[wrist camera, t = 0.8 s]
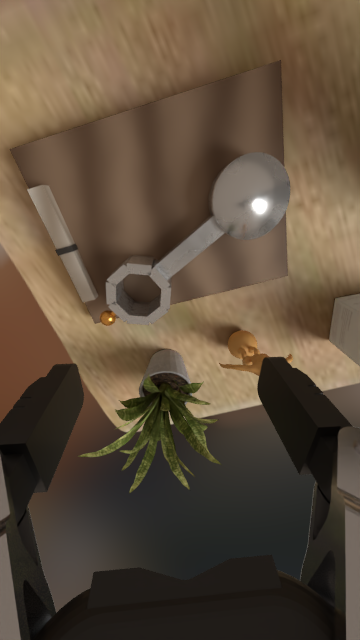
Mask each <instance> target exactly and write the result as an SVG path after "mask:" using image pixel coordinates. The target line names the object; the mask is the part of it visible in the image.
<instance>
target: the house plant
mask: <svg viewBox="0 0 360 640" xmlns="http://www.w3.org/2000/svg"><path fill="white" fill-rule="evenodd" d="M202 384H203V382H202V383H191V382H190V379H189V376H188V373H187V370H186V367H185V364H184V361H183V358H182V357H181V355H180V354H179V353H178V352H176V351H174V350H170V349H164V350H161V351H158V352H156V353H155V354H154V355H153V356H152V357H151V360H150V362H149V365H148V367H147V370H146V372H145V374H144V377H143V379H142V382H141V384H140V387H139V394H140V398H134V399H129V400H126V401H120V402H121V403H122V404H123V405H124V406H125V407H127V409H121V410H115V411H116V412H117V414H118V416H119V417H120V418H121V419H122V420H125V421H130V420H131V421H130V422H132V421H133V420H135V419H137V418H138V417H140V416H141V415H143V414H144V413H145V412H146V413H145V414H144V415H143V416H142V418H141V419H140V420H139V421H138V423H137V424H136V425H135V426H134V427H133V428H132V429H131V430H130V431H129V432H128V433H126V434H125V435H124V436H123V437H121V438H119V439H118V440H116V441H115V442H114V443H112V444H110V445H109V446H107V447H105V448H103V449H102V450H99V451H97V452H93V453H87V454H84V455H81V456H80V457H96V456H103V455H106V454H109V453H111V452H113V451H115V450H117V449H118V448H120V447H121V446H123V445H124V444H125V443H127V442H128V441H129V440H130V439H131V438H132V437H133V435H134V434H135V433H136V431H137V430H138V429H139V428H140V427H141V426H142V424H143V423H144V422H145V424H144V426H143V429H142V432H141V434H140V437H139V439H138V441H137V443H136V445H135V447H134V449H133V450H130V451H129V450H123V451H121V452H124V453H131V454H130V456H129V458H128V460H127V462H126V464H125V466H124V467H123V469H122V470H124V469H125V468H127V467H128V466H129V465H130V464H131V462H132V461H133V460H134V458H135V457H136V455H137V453H138V451H139V450H140V449H142V448H143V447H144V446H145V444H146V443H147V442H148V440H149V439H150V442H149V444H148V447H147V450H146V453H145V455H144V458H143V460H142V463H141V465H140V467H139V469H138V471H137V474H136V478H135V481H134V483H133V485H132V487H131V488H130V493H131V492H132V491H133V490H134V489H135V488H136V487H137V486H138V485H139V484H140V483H141V481H142V480H143V478H144V476H145V475H146V473H147V471H148V469H149V467H150V464H151V462H152V460H153V457H154V455H155V451H156V445H157V441H159V440H161V442H162V449H163V453H164V456H165V458H166V460H167V461H168V462H169V465H170V467H171V470H172V471H173V473H174V474H175V475H176V476H177V477H178V478H179V480H180V481H181V482H182V484H183V485H184V486H185V487H187V488H188V489H190V488H189V486H188V483H187V481H186V479H185V477H184V475H183V473H182V471H181V469H180V466H179V464H178V462H179V463H180V464H181V465H182V466H183V467H184V468H185V469H186V470H187V471H188V472H189V473H191V472H190V471H189V470H188V469H187V467H186V466H185V465H183V463H182V462H181V461H180V459H179V458H178V456H177V454H176V450H175V444H174V440H173V435H172V430H171V425H170V420H169V413H168V411H169V412H170V415H171V418H172V420H173V422H174V424H175V426H176V427H177V429H178V430H179V431H180V432H181V433H182V434H184V436H185V437H186V439H187V441H188V442H189V443H190V445H191V446H192V447H193V448H194V450H196V451H197V452H198V453H200V454H201V455H203V456H205V457H206V458H207V459H208V460H210V461H212V462H214V463H218V464H220V463H219V462H218V461H217V460H216V459H215V458H214V457H213V456H212V455H211V454H210V453H209V451H208V449H207V446H206V439H205V435H204V433H203V431H204V430H205V429H207V426H206V425H203V424H201V423H214V422H216V421H217V420H205V419H199V418H196V417H194V416H193V415H192V414H191V412H190V411H189V410H188V409H187V408H186V406H185V404H186V403H187V402H191V403H195V404H201V405H209V403H207V402H204V401H200V400H198V399H197V398H195V397H193V396H192V393H195V392H196V391H198V389H199V388H200V387H201V385H202ZM148 406H149V407H148ZM182 414H183V415H182ZM183 416H184V417H185V418H186V420H187V421H186V420H185V418H184V417H183ZM134 418H135V419H134ZM132 419H133V420H132ZM197 421H198V422H197ZM130 422H128V423H127V424H129V423H130ZM187 422H188V423H189V425H190V426H189V425H188V423H187ZM199 422H201V423H199ZM127 424H125V425H127ZM125 425H122V426H125ZM122 426H120V427H122ZM120 427H118V428H120ZM194 434H195V435H196V436H195V435H194ZM191 474H192V473H191ZM192 475H193V474H192Z"/></svg>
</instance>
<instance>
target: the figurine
mask: <svg viewBox="0 0 360 640" xmlns="http://www.w3.org/2000/svg"><path fill="white" fill-rule="evenodd" d="M228 349H229V351H230V353H231V354H232V355H233V356H235V357H237V358H240V359H243V360H242V362H243V365H232V364H226V365H223V364H220V363H219V364H220V366H221V367H223V368H227V369H230V368H231V369H236V370H241V371H249V372H252V373H254V374H256V375H258V376H260V371H261V366H262V361H263V359H264V358H265V357H269V356H267V355H266V354H260V352H259V350H258V349H257V341H256V339H255V337H254V336H253V335H252V334H251V333H250V332H248V331H243V330H242V331H237V332H235V333H233V334H232V335H231V336H230V338H229V340H228ZM253 354H255V355H253ZM252 355H253V356H252ZM288 356H289V357H287V358H286V360H287V362H288V363H290V362H292V361H293V357H292V355H291V354H289V355H288ZM251 364H252V365H251Z"/></svg>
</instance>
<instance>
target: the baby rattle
mask: <svg viewBox="0 0 360 640" xmlns="http://www.w3.org/2000/svg"><path fill="white" fill-rule="evenodd" d="M289 198H290V182H289V177H288V174H287V172H286V170H285V168H284V166H283V165H282V164H281V163H280V161H278V160H277V159H276V158H275V157H273V156H271V155H269V154H266V153H262V152H254V153H248V154H245V155H243V156H240V157H239V158H237V159H235V160H234V161H232V162H231V163H230V164H228V165H227V166H226V167H224V168H223V169H222V170H221V171H220V172H219V174H218V175H217V176H216V178H215V180H214V181H213V183H212V186H211V189H210V192H209V199H208V206H209V212H210V216H209V217H208V218H207V219H206V220H205V221H204V222H203V223H201V224H200V225H199V226H198V227H197V228H196V229H194V230H193V231H192V232H191V233H190V234H189V235H187V236H186V237H185V238H184V239H183V240H182V241H181V242H179V243H178V244H177V245H176V246H175V247H174V248H172V249H171V250H170V251H169V252H168V253H167V254H165V255H164V256H163V257H162V258H161V259H160V260H158V259H156V260H154V257H148V256H137V255H133V256H132V257H131V256H130V257H129V258H128V259H126V260H125V261H124V262H123V263H122V264H121V265H120V266H119V267H118V268H117V269H115V271H114V272H113V273H112V274H111V275H110V276H109V278H108V279H107V281H106V300H107V304H109V306H108V307H109V308H110V309H111V310H112V311H110V310H106V311H103V312H102V313H101V315H100V321H101V323H102V324H104V325H106V326H109V325H112V324H113V323H114V322H115V320H116V316H115V315H117V316H118V317H119V318H120V319H122V320H123V321H124V322H125V321H127V323H129V324H143V325H149V322H150V323H151V324H153V323H154V322H155V321H156V320H158V319H159V318H160V317H162V316H163V315H164V314H166V313H167V312H168V309H170V297H171V277H172V276H173V275H174V274H176V273H177V272H178V271H179V270H180V269H182V268H183V267H184V266H185V265H186V264H188V263H189V262H190V261H191V260H193V259H194V258H195V257H196V256H197V255H199V254H200V253H201V252H202V251H204V250H205V249H206V248H207V247H208V246H210V245H211V244H212V243H213V242H215V241H216V240H217V239H218V238H219V237H221V236H222V235H223V234H224V233H226V234H228V235H230V236H232V237H234V238H237V239H241V240H252V239H256V238H259V237H261V236H263V235H265V234H267V233H268V232H270V231H271V230H272V229H273V228H274V227H275V226H276V225H277V224H278V223H279V221H280V220H281V219H282V217H283V215H284V213H285V211H286V209H287V206H288V203H289ZM128 274H139V275H149V276H150V277H151V278H152V280H153V281H154V282H155V283H156V284H157V285H158V286H159V287H160V288H161V294H160V295H159V296H158V297H156V298H155V299H154V300H153V301H151V302H138V301H134V300H133V299H132V298H131V297H130V296H129V295H128V294H127V293H126V292H125V291H124V284H123V279H124V278H125V277H126V276H127V275H128Z"/></svg>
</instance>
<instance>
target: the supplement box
mask: <svg viewBox="0 0 360 640" xmlns="http://www.w3.org/2000/svg"><path fill="white" fill-rule="evenodd" d="M329 341H330V342H331V343H333V344H334V345H335V346H336V347H337V348H338V349H340V350H341V351H342V352H343V353H344V354H346V355H347V356H348V357H349V358H350V359H352V360H353V361H354V362H355V363H356V364H358V365H359V366H360V294H356V295H350V296H345V297H339V298H335V303H334V309H333V315H332V322H331V329H330V336H329Z"/></svg>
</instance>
